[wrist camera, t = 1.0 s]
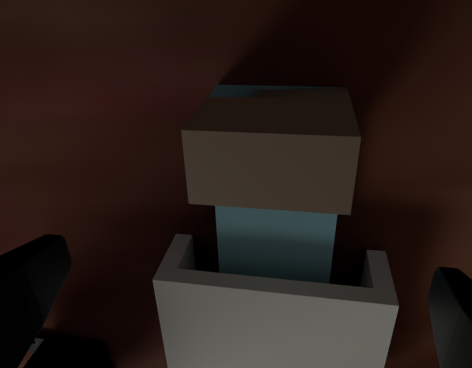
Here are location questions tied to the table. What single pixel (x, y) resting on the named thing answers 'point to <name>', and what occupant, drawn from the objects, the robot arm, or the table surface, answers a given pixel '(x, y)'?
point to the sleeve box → (272, 316)
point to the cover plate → (274, 175)
